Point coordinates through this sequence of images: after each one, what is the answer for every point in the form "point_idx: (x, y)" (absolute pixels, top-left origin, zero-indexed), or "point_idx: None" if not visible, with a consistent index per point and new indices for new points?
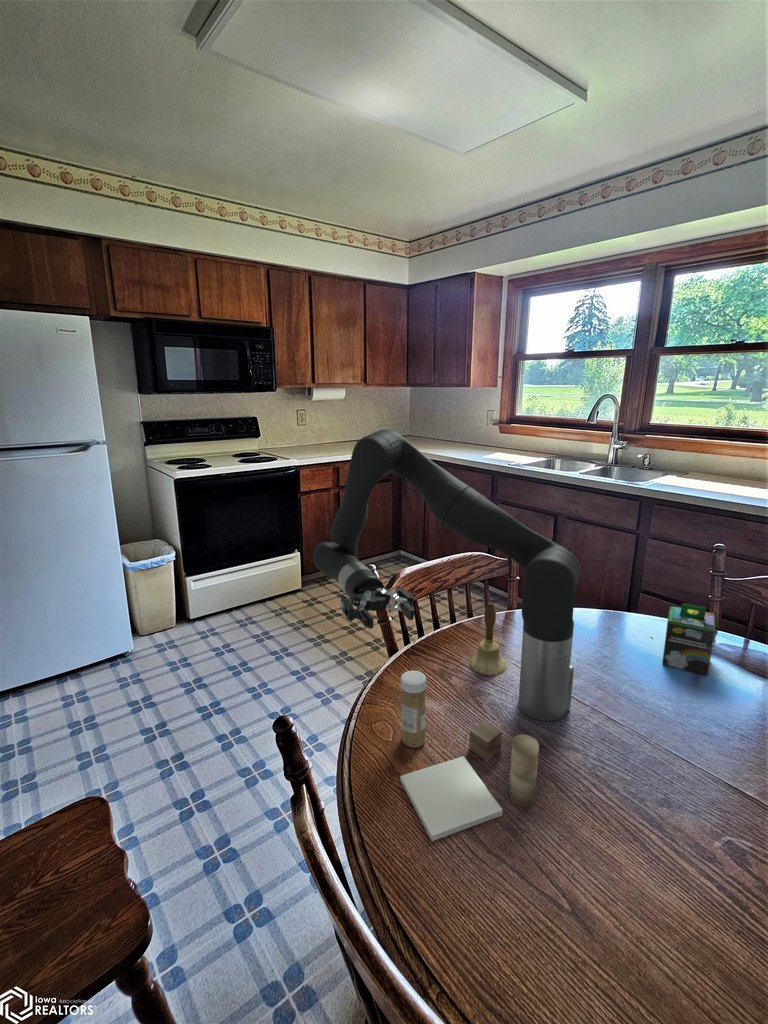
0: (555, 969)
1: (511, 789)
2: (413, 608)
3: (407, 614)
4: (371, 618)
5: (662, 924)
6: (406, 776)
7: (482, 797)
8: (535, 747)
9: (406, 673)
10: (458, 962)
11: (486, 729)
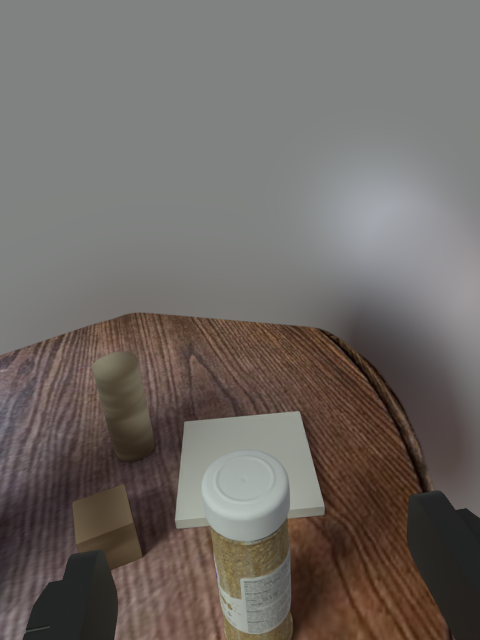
0: (235, 334)
1: (151, 432)
2: (31, 614)
3: (104, 628)
4: (426, 496)
5: (130, 340)
6: (311, 503)
7: (198, 441)
8: (108, 356)
9: (261, 499)
10: (309, 344)
11: (96, 515)
